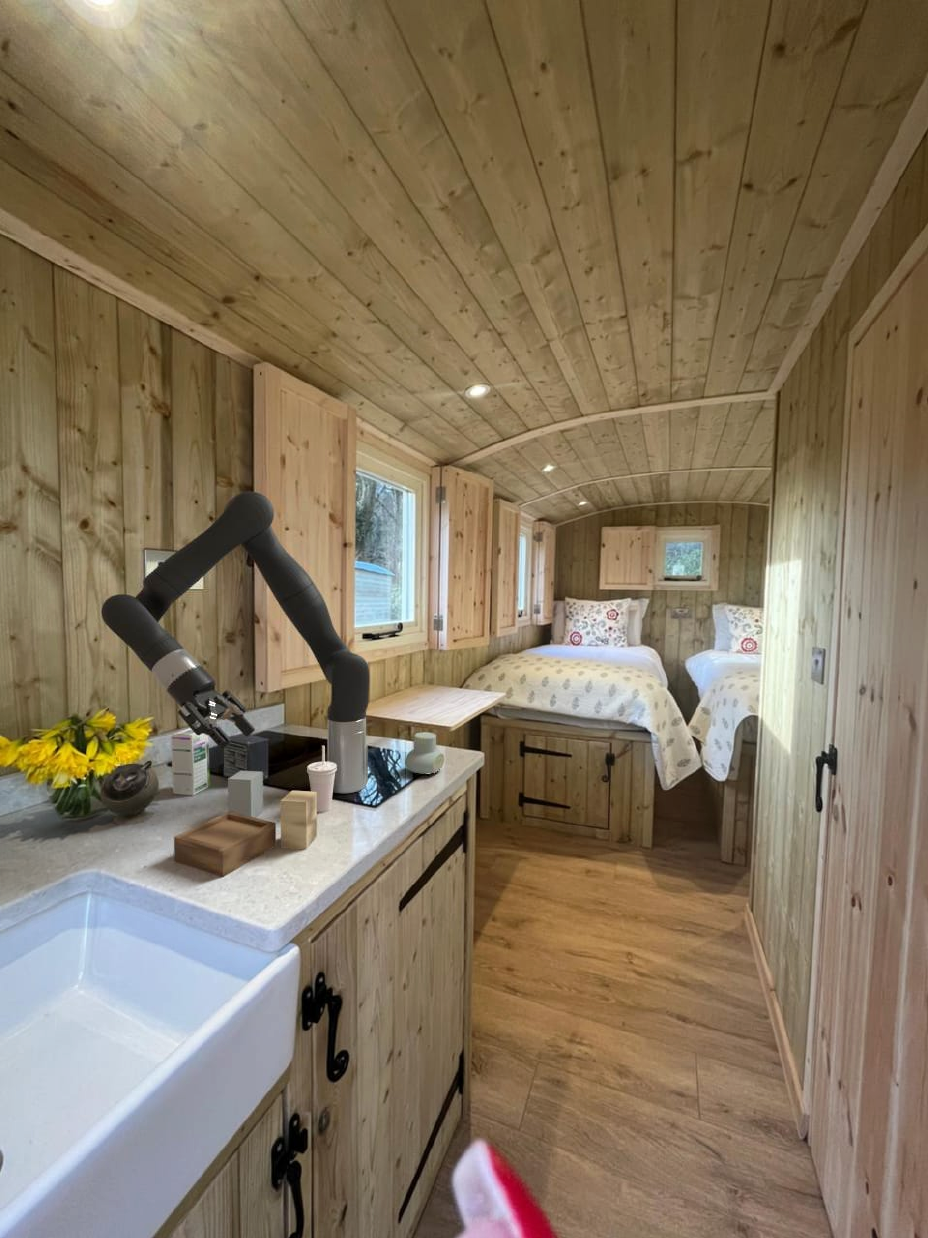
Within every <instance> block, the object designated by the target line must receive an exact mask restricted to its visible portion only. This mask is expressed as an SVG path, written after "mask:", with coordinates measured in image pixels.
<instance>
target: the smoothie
mask: <svg viewBox="0 0 928 1238" xmlns="http://www.w3.org/2000/svg"><path fill="white" fill-rule="evenodd" d="M325 749H326V748H325V745H321V761H316V762H312V763H310V764H309V765H307V767H306V768H307V769H306V773H307V774H308V779H309V786H310V792H317V813H326V812H328V810H329V811H330V810H331V808H332V802H333V801H332V800H333V793H334V792H333V785H334V778H335V771H336V770H337V765H336V764H335V763H333V762H328V761H325V760H326V759H325V758H326V757H325V755H326V752H325V751H326V750H325Z"/></svg>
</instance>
